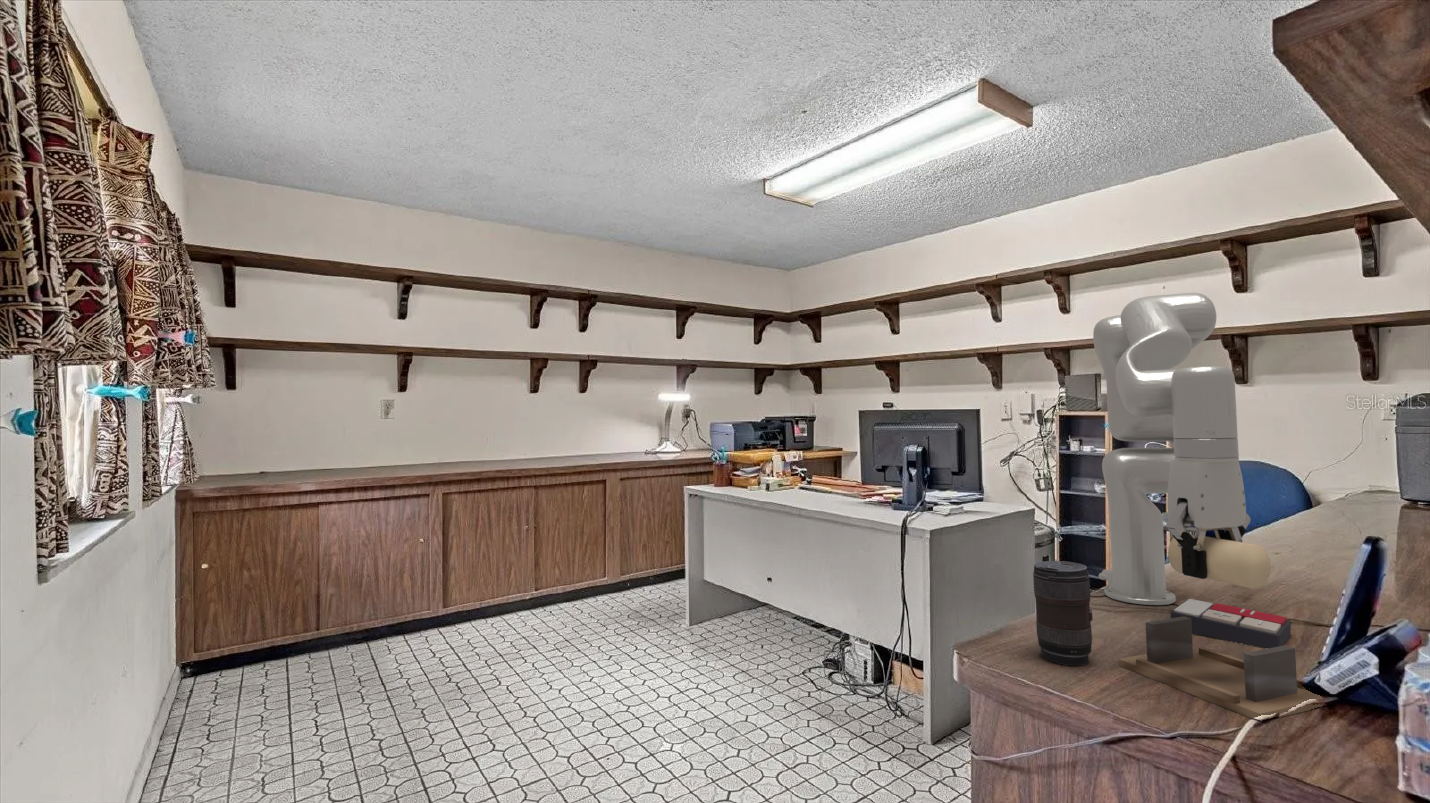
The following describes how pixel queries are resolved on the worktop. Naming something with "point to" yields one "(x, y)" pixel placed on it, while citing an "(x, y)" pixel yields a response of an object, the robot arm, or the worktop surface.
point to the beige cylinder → (1229, 561)
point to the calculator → (1235, 623)
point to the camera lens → (1063, 611)
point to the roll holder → (1221, 671)
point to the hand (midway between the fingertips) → (1211, 573)
